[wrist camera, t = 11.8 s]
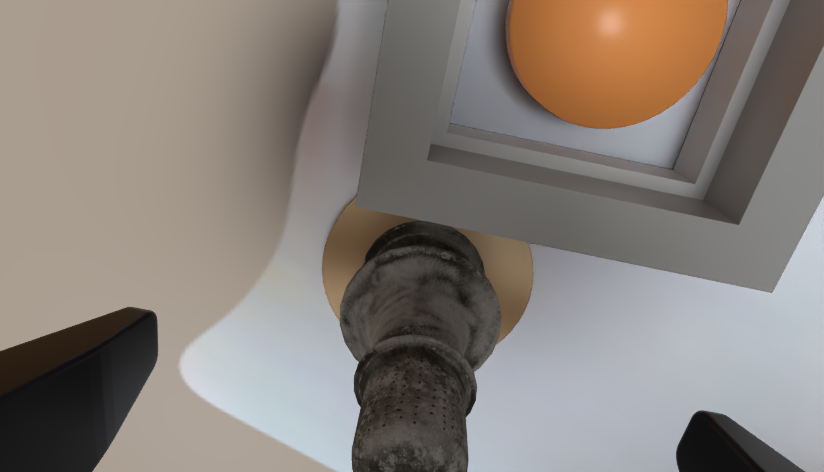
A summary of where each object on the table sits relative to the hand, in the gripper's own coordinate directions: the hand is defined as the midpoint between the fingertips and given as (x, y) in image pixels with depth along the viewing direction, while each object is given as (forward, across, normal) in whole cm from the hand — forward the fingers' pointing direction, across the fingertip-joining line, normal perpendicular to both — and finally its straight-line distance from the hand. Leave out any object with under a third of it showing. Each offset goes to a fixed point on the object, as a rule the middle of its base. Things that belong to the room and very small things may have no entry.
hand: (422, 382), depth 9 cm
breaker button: (+13, -5, -6) cm, 15 cm away
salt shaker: (+13, 0, +5) cm, 14 cm away
